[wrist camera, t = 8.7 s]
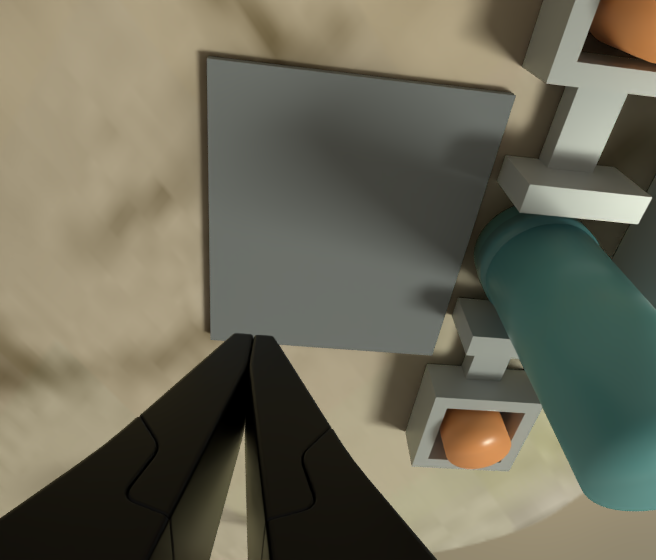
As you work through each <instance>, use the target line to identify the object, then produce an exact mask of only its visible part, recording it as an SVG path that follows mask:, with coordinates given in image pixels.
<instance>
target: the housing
mask: <svg viewBox="0 0 656 560" xmlns="http://www.w3.org/2000/svg"><path fill="white" fill-rule="evenodd" d="M599 2H600V0H543V3H542V6H541V9H540V12H539V15H538V18H537V21H536V24H535V28H534V31H533V34H532V37H531V40H530V43H529V46H528V50H527V53H526V56H525V59H524V62H523V65H522V67H523V68H524V69H526V70H527V71H529V72H530V73H532V74H533V75H535V76H536V77H537V78H539V79H540V80H542V81H543V82H545V83H546V84H555V85H563V86H566V87H565V90H564V92H563V95H562V98H561V100H560V103H559V106H558V108H557V111H556V114H555V117H554V119H553V122H552V125H551V127H550V130H549V133H548V135H547V138H546V141H545V143H544V146H543V149H542V151H541V154H540V157H539V159H536V158H526V157H517V156H508V155H505V158H504V161H503V164H502V167H501V170H500V173H499V176H498V179H497V182H498V183H499V185H500V186H501V188H502V189H503V190H504V192H505V193H506V195H507V196H508V197H509V199H510V200H511V201H512V203H513V204H514V206H515V207H516V208H517V210H518V211H519V213H529V214H539V215H549V216H560V217H570V218H580V219H590V220H600V221H610V222H620V223H630V226H629V228H628V229H627V231H626V233H625V235H624V237H623V239H622V241H621V243H620V245H619V247H618V249H617V251H616V253H615V254H614V256H613V258H612V261H613V262H614V263H615V264H616V265H617V266H618V268H619V269H620V270H621V271H622V272H623V273H624V274H625V275H626V277H627V278H628V279H629V280H630V281H631V282H632V283H633V284H634V286H635V287H636V288H637V289H638V290H639V291H640V292H641V293H642V295H643V296H644V297H645V298H646V299H647V300H648V301H649V302H650V303H651V305H652V306H653V307H654V308H655V309H656V176H655V178H654V179H653V181H652V183H651V185H650V187H649V189H648V191H647V193H646V192H645V191H644V190H643V189H641V188H640V187H639V186H638V185H636V184H635V183H634V182H633V181H631V180H630V179H629V178H628V177H626V176H625V175H624V174H623V173H621V172H620V171H619V170H618V169H617V168H615V167H609V166H599V165H597V162H598V160H599V158H600V156H601V153H602V151H603V149H604V147H605V144H606V142H607V140H608V138H609V135H610V133H611V131H612V129H613V126H614V124H615V122H616V120H617V117H618V115H619V113H620V111H621V108H622V106H623V104H624V102H625V99H626V97H627V95H628V94H635V95H643V96H651V97H656V64H655V63H651V62H648V61H646V60H642V59H634V58H626V57H619V56H611V55H603V54H596V53H588V52H581V50H582V47H583V45H584V42H585V39H586V37H587V34H588V31H589V29H590V26H591V23H592V21H593V18H594V15H595V13H596V10H597V7H598V5H599ZM452 317H453V320H454V323H455V326H456V328H457V331H458V334H459V337H460V340H461V342H462V345H463V348H464V351H465V354H466V355H465V358H464V360H463V363H462V366H454V365H439V364H427V366H426V369H425V372H424V375H423V379H422V382H421V385H420V388H419V391H418V394H417V397H416V400H415V404H414V407H413V410H412V413H411V416H410V419H409V422H408V426H407V429H406V438H407V443H408V449H409V454H410V459H411V465H412V466H413V467H432V468H452V469H465V468H460V467H457V466H455V465H453V464H452V463H450V462H449V460H448V459H447V457H446V454H445V450H444V446H443V442H442V438H441V434H440V430H439V428H440V426H441V423H442V420H443V418H444V415H445V412H446V410H447V408H449V409H466V410H482V411H498V412H500V414H501V417H502V419H503V422H504V425H505V427H506V430H507V432H508V435H509V437H510V440H511V449H510V451H509V453H508V454H507V455H506V456H505V457H504V458H503V459H502V460H501V461H499V462H497V463H495V464H493V465H491V466H488V467H484V468H479V469H472V470H491V471H509V470H510V468H511V466H512V465H513V463H514V461H515V459H516V457H517V455H518V453H519V451H520V450H521V448H522V446H523V444H524V442H525V440H526V438H527V436H528V435H529V433H530V431H531V429H532V427H533V425H534V423H535V421H536V420H537V418H538V416H539V414H540V412H541V410H542V405H541V403H540V401H539V399H538V397H537V395H536V393H535V391H534V389H533V387H532V384H531V382H530V380H529V378H528V376H527V374H526V372H525V370H511V369H506V368H507V365H508V363H509V361H510V359H511V358H512V359H519V357H518V355H517V353H516V351H515V349H514V347H513V345H512V343H511V341H510V338H509V336H508V334H507V332H506V330H505V328H504V326H503V324H502V322H501V320H500V317H499V315H498V313H497V311H496V309H495V307H494V305H493V304H492V303H491V302H490V301H489V300H479V299H467V298H458V299H457V302H456V305H455V308H454V311H453V314H452Z"/></svg>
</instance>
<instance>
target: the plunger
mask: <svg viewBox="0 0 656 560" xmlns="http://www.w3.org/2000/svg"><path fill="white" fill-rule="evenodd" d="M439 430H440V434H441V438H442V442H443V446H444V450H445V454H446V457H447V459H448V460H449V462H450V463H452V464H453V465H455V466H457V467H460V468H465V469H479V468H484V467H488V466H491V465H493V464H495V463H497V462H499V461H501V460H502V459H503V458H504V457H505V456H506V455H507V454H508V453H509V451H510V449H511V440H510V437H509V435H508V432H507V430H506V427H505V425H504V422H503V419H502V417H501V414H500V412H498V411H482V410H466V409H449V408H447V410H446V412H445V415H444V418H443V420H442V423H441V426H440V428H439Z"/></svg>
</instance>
